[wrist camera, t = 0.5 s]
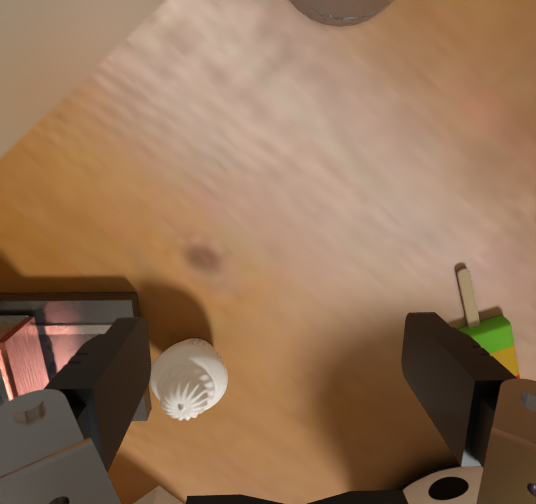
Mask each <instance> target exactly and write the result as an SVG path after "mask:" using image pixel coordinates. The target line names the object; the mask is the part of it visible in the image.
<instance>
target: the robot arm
mask: <svg viewBox="0 0 536 504" xmlns="http://www.w3.org/2000/svg"><path fill="white" fill-rule="evenodd" d="M290 1H291V2H292V3H293V5H294V6H295V7H296V8H297V9H298V10H299V11H300V12H302V13H303V14H305V15H306V16H308V17H309V18H310V19H312V20H315V21H317V22H320V23H322V24H325V25H332V26H348V25H355V24H358V23H360V22H363V21H366V20H368V19H370V18H372V17H373V16H375V15H376V14H378V13H380V12H381V11H382V10H383V9H385V8H386V7H387V6H388V5H389V4H390V3H391V2H393V1H394V0H290ZM402 369H403V374H404V376H405V379H406V381H407V382H408V384H409V385H410V387H411V388H412V390H413V392H414V393H415V395H416V396H417V398H418V399H419V401H420V403H421V404H422V406H423V407H424V409H425V410H426V412H427V414H428V415H429V417H430V418H431V420H432V421H433V423H434V425H435V426H436V428H437V429H438V431H439V433H440V434H441V436H442V437H443V439H444V440H445V442H446V444H447V445H448V447H449V448H450V450H451V451H452V453H453V455H454V456H455V458H456V459H457V461H458V462H459V464H460V466H461V467H465V466H482V467H483V473H482V478H481V483H480V488H479V493H478V498H477V503H476V504H536V381H533V380H528V379H518V378H517V377H516V376H514V375H513V374H512V373H511V372H510V371H509V370H508V369H507V368H505V367H504V366H503V365H502V364H501V363H500V362H499V361H498V360H496V359H495V358H494V357H493V356H490V353H489V352H487V351H486V350H485V349H484V348H481V345H480V344H478V343H477V342H476V341H475V340H474V339H473V338H472V337H471V336H469V335H467V334H465V333H463V332H461V331H459V330H457V329H455V328H451V327H450V326H449V325H448V324H447V323H446V322H445V321H444V320H443V319H442V318H441V317H440V316H438V315H437V314H436V313H435V312H418V313H408V314H407V317H406V320H405V330H404V340H403V350H402ZM150 376H151V358H150V348H149V339H148V329H147V322H146V319H145V318H144V317H123V318H117V319H116V321H115V322H114V323H113V324H112V325H111V327H110V328H109V329H108V330H107V331H106V333H105V334H98V335H97V336H95V337H93V338H92V339H90V340H88V341H87V342H85V343H84V344H83V345H82V346H81V347H80V348H79V349H78V351H77V352H76V353H75V355H73V356H72V357H71V358H70V360H69V361H68V362H67V364H65V365H64V366H63V367H62V369H61V370H60V371H59V372H58V373H57V374H56V375H55V376H54V378H53V379H52V380H51V381H50V382H49V383H48V384H47V385H46V387H45V388H44V389H42V390H36V391H32V392H28V393H25V394H22V395H20V396H17V397H15V398H13V399H11V400H9V401H8V402H6V403H5V404H3V405H2V406H0V504H121V502H120V499H119V497H118V495H117V493H116V491H115V489H114V486H113V484H112V482H111V480H110V478H109V476H108V470H109V468H110V466H111V464H112V462H113V460H114V457H115V455H116V453H117V451H118V449H119V447H120V445H121V442H122V440H123V438H124V436H125V434H126V432H127V429H128V427H129V425H130V423H131V421H132V419H133V417H134V414H135V412H136V410H137V408H138V406H139V404H140V401H141V399H142V397H143V395H144V393H145V391H146V389H147V386H148V384H149V381H150ZM186 504H283V503H278V502H273V501H269V500H264V499H259V498H255V497H250V496H245V495H208V496H187V500H186ZM308 504H408V502H407V499H406V497H405V494H404V492H403V490H380V491H350V492H346V493H343V494H339V495H336V496H332V497H329V498H325V499H322V500H318V501H315V502H311V503H308Z"/></svg>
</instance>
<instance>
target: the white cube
mask: <svg viewBox="0 0 536 504" xmlns="http://www.w3.org/2000/svg"><path fill="white" fill-rule="evenodd" d="M133 504H184V503H182V502H181V501H180V500H178V499H177V498H176V497H174V496H173V495H171V494H170V493H169V492H167V491H166V490H165V489H163V488H162V487H161V486H159V485H158V486H157V487H156V488H154V489H153V490H152V491H150V492H149V493H147V494H146V495H145V496H143V497H142V498H140V499H139V500H138V501H136V502H135V503H133Z"/></svg>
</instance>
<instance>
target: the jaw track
mask: <svg viewBox="0 0 536 504" xmlns="http://www.w3.org/2000/svg"><path fill="white" fill-rule="evenodd" d="M0 316H28V317H34V318H35V323H36V327H37V331H38V336H39V340H40V344H41V349H42V353H43V358H44V362H45V366H46V371H47V375H48V379H49V382H50V381H51V380H52V379H53V378H54V376H55V375H56V374H57V373H58V372H59V371H60V370H61V369H62V367H63V366H64V365H65V364H67V362H68V361H69V360H70V358H71V357H72V356H73V355H75V353H76V352H77V351H78V349H79V348H80V347H81V346H82V345H83V344H84V343H85V342H87V341H88V340H90V339H92V338H93V337H95V336H97V335H98V334H105V333H106V331H107V330H108V329H109V328H110V327H111V325H112V324H113V323H114V322H115V321H116V319H117V318H123V317H140V311H139V302H138V294H137V292H92V293H0ZM151 409H152V408H151V400H150V392H149V384H148V386H147V389H146V391H145V393H144V395H143V397H142V399H141V401H140V404H139V406H138V408H137V410H136V412H135V414H134V417H133V419H132V421H147V419H148V417H149V414H150V411H151Z"/></svg>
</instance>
